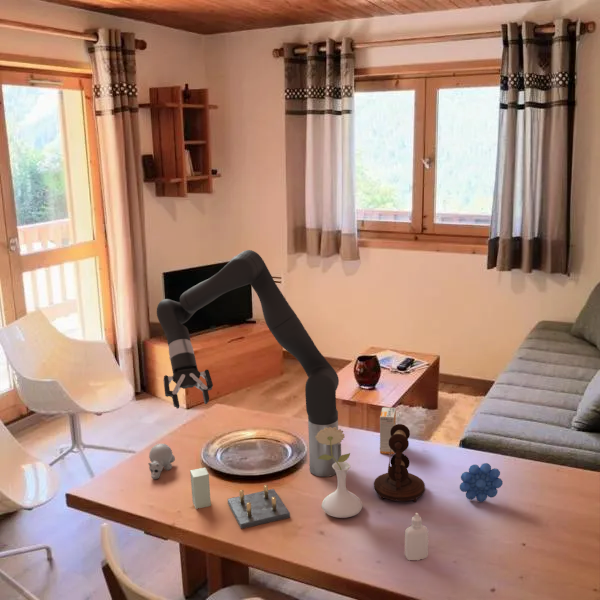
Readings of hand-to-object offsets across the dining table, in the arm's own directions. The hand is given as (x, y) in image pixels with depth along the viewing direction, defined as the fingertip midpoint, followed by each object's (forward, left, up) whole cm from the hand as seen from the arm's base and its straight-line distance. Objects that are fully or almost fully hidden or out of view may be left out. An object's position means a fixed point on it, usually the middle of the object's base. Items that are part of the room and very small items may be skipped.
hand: (192, 405), depth 202 cm
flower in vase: (-33, +32, -26) cm, 52 cm away
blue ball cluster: (-72, +43, -26) cm, 88 cm away
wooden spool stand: (-53, +30, -26) cm, 66 cm away
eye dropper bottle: (-42, +59, -26) cm, 77 cm away
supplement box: (-63, +4, -26) cm, 68 cm away
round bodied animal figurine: (+10, -11, -26) cm, 30 cm away
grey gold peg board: (-12, +23, -25) cm, 36 cm away
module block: (+2, +13, -25) cm, 28 cm away
